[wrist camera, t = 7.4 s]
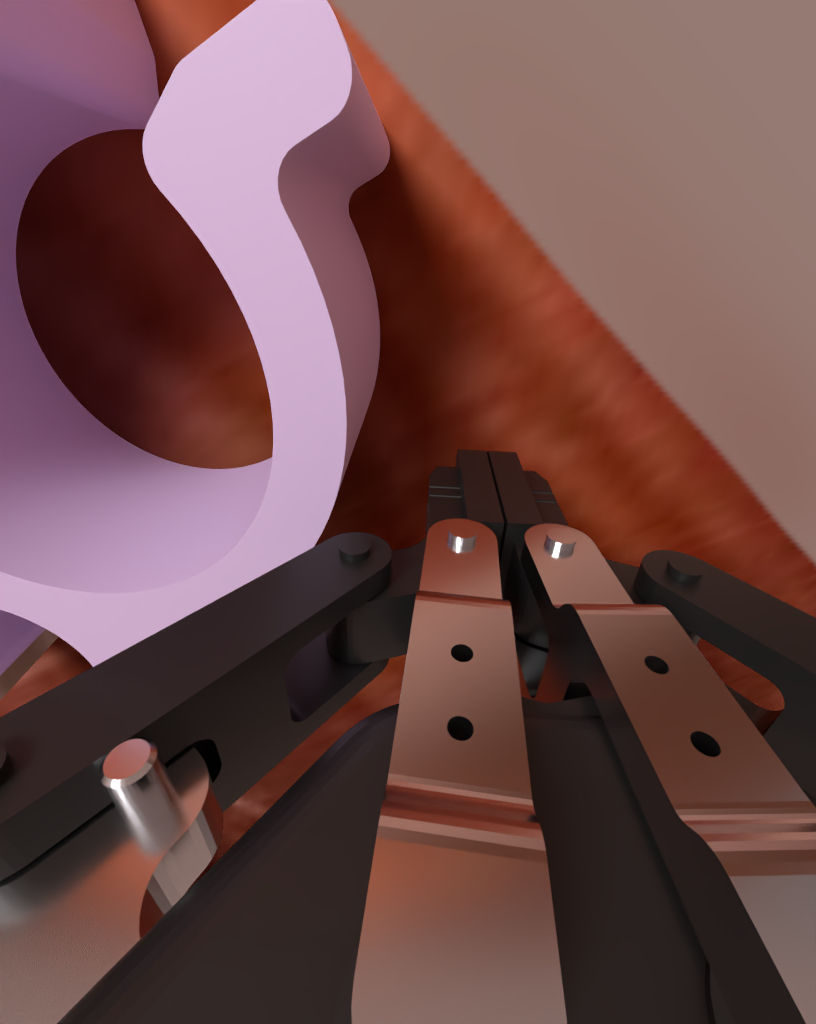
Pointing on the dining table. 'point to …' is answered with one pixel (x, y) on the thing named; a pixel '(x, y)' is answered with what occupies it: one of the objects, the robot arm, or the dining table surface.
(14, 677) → the board
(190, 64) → the clip
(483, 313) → the dining table surface
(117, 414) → the dining table surface
